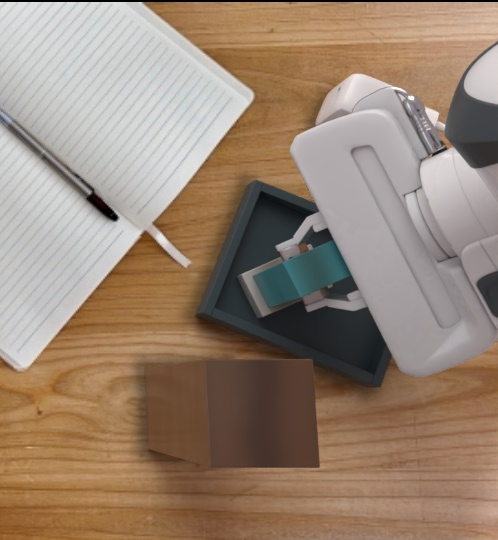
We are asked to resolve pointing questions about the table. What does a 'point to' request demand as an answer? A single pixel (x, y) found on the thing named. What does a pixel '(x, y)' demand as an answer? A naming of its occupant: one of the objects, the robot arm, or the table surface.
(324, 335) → the tray
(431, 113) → the power adapter
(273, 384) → the stand
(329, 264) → the eraser
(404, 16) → the table surface
